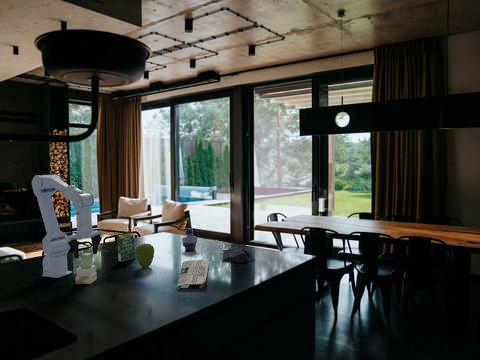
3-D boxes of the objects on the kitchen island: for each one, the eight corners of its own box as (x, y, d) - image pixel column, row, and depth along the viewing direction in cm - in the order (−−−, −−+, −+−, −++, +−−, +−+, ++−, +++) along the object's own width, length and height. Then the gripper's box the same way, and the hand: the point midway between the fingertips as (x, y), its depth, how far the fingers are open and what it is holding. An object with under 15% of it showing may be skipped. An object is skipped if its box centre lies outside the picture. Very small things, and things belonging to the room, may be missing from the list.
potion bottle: (178, 250, 197) (178, 228, 196) (192, 247, 203) (191, 226, 202) (187, 253, 190) (187, 230, 190) (201, 250, 196) (200, 228, 196)
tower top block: (76, 276, 147) (76, 269, 147) (82, 272, 153) (82, 265, 152) (90, 276, 147) (90, 268, 147) (96, 272, 153) (95, 265, 152)
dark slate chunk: (251, 251, 193) (251, 242, 193) (254, 262, 171) (254, 252, 171) (222, 252, 193) (222, 243, 193) (221, 264, 171) (221, 254, 171)
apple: (149, 270, 161) (148, 245, 161) (132, 270, 163) (131, 244, 162) (158, 265, 170) (157, 240, 169) (141, 264, 172) (140, 240, 171)
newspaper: (182, 265, 170) (182, 258, 170) (209, 264, 171) (209, 256, 171) (176, 292, 135) (175, 282, 135) (210, 290, 136) (209, 281, 136)
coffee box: (120, 262, 176) (119, 235, 175) (117, 261, 178) (116, 235, 177) (135, 259, 182) (134, 233, 181) (132, 258, 184) (131, 232, 183)
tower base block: (75, 284, 147) (75, 277, 146) (82, 279, 153) (82, 272, 152) (90, 284, 146) (90, 276, 146) (96, 279, 152) (96, 272, 152)
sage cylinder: (78, 266, 148) (78, 254, 148) (86, 264, 152) (87, 252, 152) (86, 268, 147) (86, 256, 146) (94, 266, 151) (95, 254, 150)
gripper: (70, 226, 140) (72, 261, 141) (105, 221, 151) (107, 253, 152) (62, 224, 145) (64, 258, 146) (97, 219, 156) (99, 251, 157)
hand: (85, 255), depth 149 cm, fingers open, 7 cm apart
